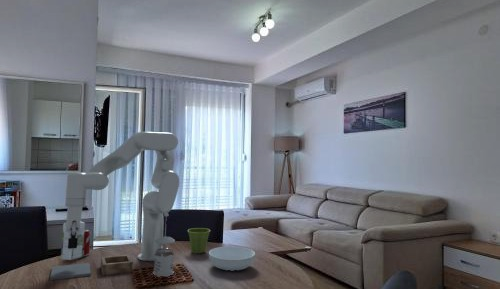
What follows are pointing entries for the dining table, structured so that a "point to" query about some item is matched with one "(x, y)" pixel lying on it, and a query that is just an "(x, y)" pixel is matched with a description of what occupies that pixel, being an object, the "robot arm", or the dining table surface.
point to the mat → (70, 271)
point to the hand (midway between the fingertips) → (72, 245)
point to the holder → (116, 264)
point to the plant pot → (198, 239)
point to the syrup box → (73, 252)
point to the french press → (164, 256)
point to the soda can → (86, 242)
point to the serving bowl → (231, 257)
